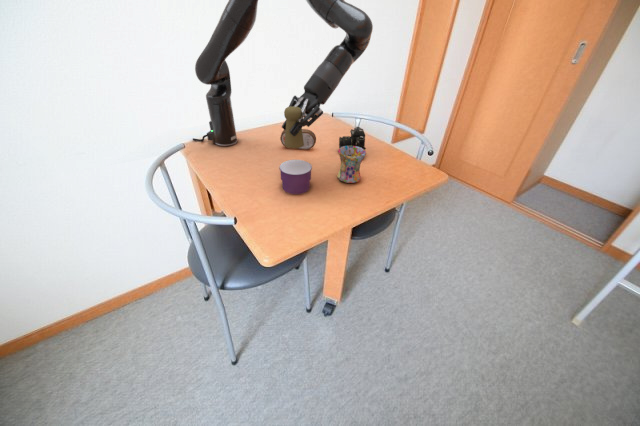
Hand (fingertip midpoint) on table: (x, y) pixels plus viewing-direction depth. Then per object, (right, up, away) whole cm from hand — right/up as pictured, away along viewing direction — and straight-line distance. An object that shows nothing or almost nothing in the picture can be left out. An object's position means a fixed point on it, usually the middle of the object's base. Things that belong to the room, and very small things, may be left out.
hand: (288, 131), depth 79 cm
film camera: (+23, +2, +36) cm, 43 cm away
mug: (+19, -11, +19) cm, 29 cm away
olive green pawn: (+1, -3, +4) cm, 5 cm away
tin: (0, +4, +37) cm, 37 cm away
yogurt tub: (+1, -15, +12) cm, 19 cm away
